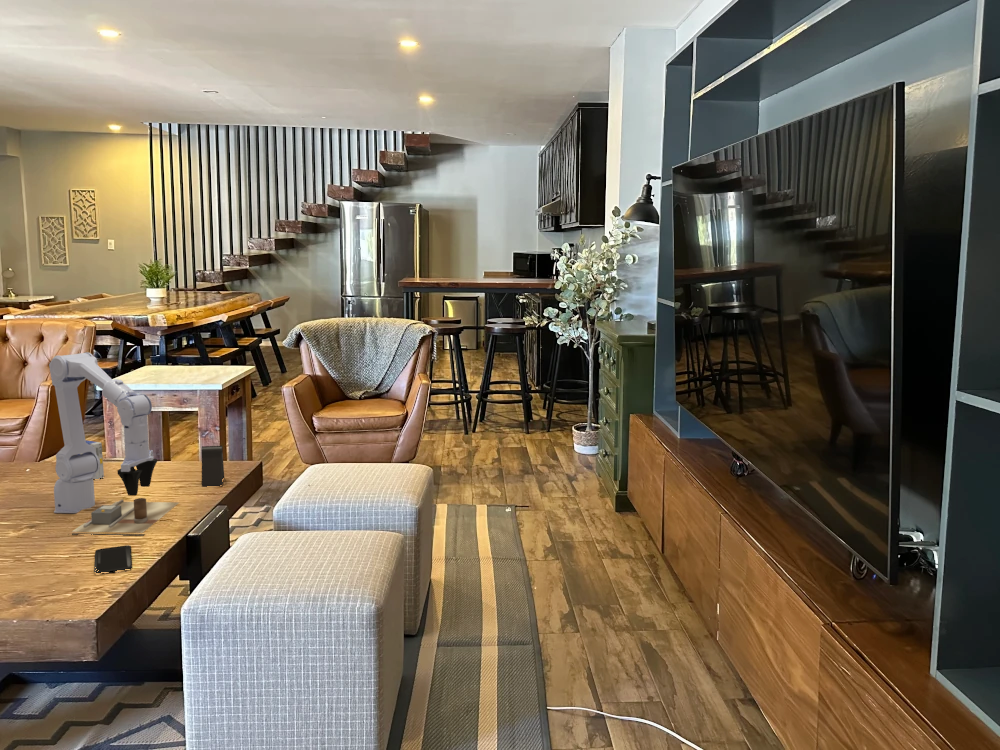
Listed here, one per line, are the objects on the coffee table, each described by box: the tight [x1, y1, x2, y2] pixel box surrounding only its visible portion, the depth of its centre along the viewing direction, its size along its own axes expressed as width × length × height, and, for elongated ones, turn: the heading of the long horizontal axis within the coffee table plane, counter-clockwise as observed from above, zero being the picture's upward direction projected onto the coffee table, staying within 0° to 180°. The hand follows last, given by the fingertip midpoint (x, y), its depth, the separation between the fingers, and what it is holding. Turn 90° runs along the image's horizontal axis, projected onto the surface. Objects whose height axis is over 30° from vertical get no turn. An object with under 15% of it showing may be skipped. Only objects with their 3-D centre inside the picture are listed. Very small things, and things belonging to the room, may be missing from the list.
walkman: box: [77, 439, 105, 480], centre depth 244 cm, size 8×3×12 cm, turn 68°
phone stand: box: [200, 445, 225, 488], centre depth 241 cm, size 9×6×12 cm, turn 14°
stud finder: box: [90, 505, 122, 524], centre depth 204 cm, size 5×6×4 cm
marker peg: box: [133, 497, 148, 524], centre depth 204 cm, size 3×3×6 cm
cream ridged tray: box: [71, 499, 180, 537], centre depth 208 cm, size 18×24×2 cm
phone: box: [93, 544, 133, 573], centre depth 181 cm, size 8×1×15 cm
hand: (139, 490), depth 204 cm, fingers open, 7 cm apart
